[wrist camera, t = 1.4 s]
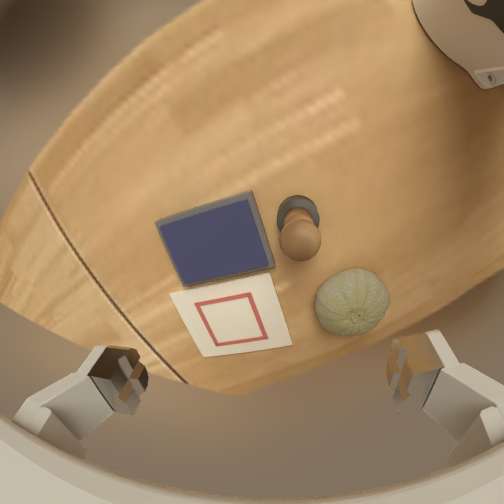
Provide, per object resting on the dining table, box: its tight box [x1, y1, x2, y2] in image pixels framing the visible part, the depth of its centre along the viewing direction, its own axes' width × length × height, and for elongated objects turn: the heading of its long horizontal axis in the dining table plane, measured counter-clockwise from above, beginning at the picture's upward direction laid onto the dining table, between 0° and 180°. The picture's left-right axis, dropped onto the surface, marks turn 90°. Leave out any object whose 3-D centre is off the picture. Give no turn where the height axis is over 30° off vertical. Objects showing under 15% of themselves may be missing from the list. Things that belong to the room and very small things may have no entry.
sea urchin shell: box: [314, 268, 389, 336], centre depth 33 cm, size 9×8×8 cm
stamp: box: [277, 195, 321, 261], centre depth 27 cm, size 4×4×9 cm
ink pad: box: [155, 190, 275, 287], centre depth 33 cm, size 12×9×2 cm
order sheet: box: [169, 272, 293, 357], centre depth 38 cm, size 14×12×1 cm
